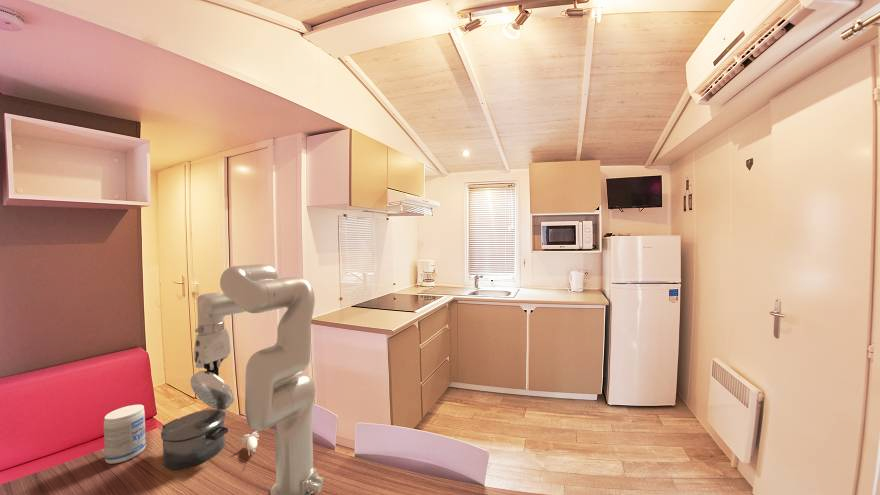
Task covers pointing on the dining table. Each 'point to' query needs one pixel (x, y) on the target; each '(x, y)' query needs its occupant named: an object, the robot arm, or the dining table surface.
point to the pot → (193, 439)
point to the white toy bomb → (251, 441)
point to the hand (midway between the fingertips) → (213, 379)
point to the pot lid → (212, 390)
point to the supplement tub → (124, 433)
